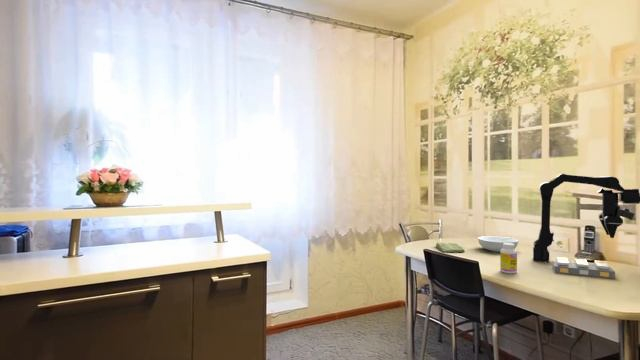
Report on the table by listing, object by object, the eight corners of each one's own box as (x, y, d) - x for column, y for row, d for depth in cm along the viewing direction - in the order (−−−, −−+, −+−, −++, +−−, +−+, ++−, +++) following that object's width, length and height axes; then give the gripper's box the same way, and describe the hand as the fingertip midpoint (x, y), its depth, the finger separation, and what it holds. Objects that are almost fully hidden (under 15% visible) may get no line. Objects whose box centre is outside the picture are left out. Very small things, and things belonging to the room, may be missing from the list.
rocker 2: (577, 266, 153) (577, 263, 153) (575, 261, 159) (575, 258, 158) (588, 267, 151) (588, 264, 151) (586, 262, 157) (586, 259, 156)
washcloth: (442, 253, 198) (442, 248, 198) (434, 247, 216) (434, 242, 216) (466, 253, 197) (466, 248, 197) (456, 247, 215) (456, 242, 215)
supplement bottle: (510, 274, 154) (510, 245, 154) (497, 271, 160) (497, 243, 159) (520, 272, 157) (520, 244, 157) (506, 269, 163) (506, 241, 163)
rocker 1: (558, 264, 157) (558, 262, 157) (556, 259, 162) (556, 256, 162) (568, 265, 155) (568, 263, 155) (567, 260, 160) (567, 257, 160)
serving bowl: (526, 254, 192) (526, 241, 192) (488, 254, 192) (488, 242, 192) (506, 246, 213) (506, 235, 212) (472, 247, 213) (472, 235, 213)
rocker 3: (597, 268, 150) (597, 265, 150) (594, 262, 155) (594, 260, 155) (609, 269, 148) (609, 266, 148) (605, 263, 153) (605, 260, 153)
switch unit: (554, 272, 155) (554, 265, 155) (552, 267, 164) (552, 260, 164) (615, 279, 145) (615, 270, 145) (609, 272, 154) (609, 265, 154)
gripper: (638, 205, 151) (638, 241, 151) (627, 202, 167) (627, 234, 167) (605, 204, 157) (605, 239, 157) (598, 201, 173) (598, 232, 173)
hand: (610, 236), depth 163 cm, fingers open, 9 cm apart
